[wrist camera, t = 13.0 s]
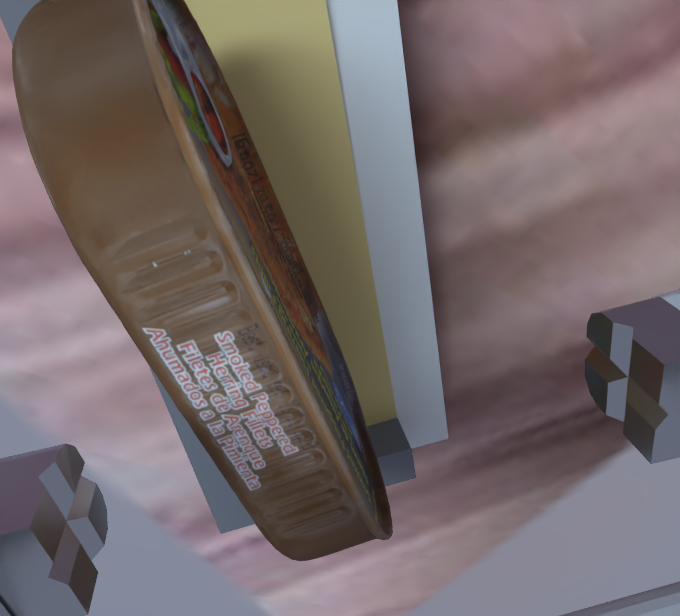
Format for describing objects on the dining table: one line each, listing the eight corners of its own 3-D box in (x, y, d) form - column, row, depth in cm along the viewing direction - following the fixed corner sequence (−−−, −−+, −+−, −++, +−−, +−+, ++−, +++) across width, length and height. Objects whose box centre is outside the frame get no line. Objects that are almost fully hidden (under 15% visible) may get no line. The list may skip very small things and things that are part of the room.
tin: (363, 399, 22) (439, 600, 14) (286, 431, 22) (322, 648, 14) (177, -40, 14) (134, -96, 7) (59, 8, 14) (-111, 2, 7)
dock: (342, -240, 15) (386, -329, 11) (428, 402, 26) (467, 472, 22) (-42, -172, 14) (-140, -242, 10) (212, 462, 25) (211, 546, 21)
